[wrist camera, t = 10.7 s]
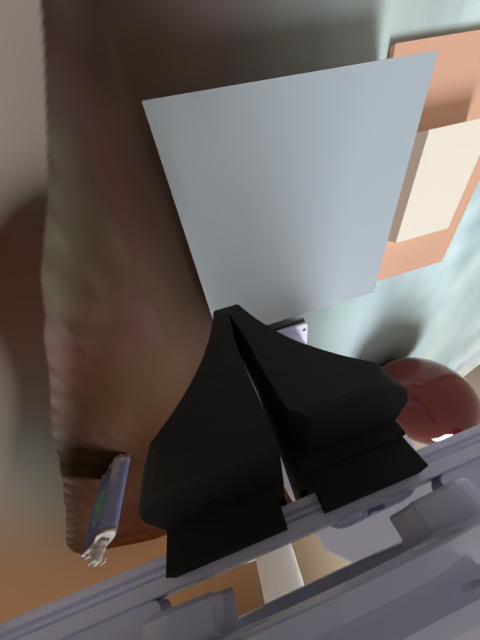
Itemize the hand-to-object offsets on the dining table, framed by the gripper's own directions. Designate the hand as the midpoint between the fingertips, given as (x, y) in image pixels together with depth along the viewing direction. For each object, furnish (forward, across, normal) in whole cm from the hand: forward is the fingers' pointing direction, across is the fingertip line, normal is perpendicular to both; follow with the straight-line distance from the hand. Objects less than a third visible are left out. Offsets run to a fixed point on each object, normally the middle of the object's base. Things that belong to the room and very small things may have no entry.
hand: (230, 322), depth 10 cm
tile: (+7, -21, -2) cm, 22 cm away
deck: (+9, -7, -2) cm, 12 cm away
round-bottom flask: (+10, -27, +28) cm, 40 cm away
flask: (+10, +24, +29) cm, 39 cm away
